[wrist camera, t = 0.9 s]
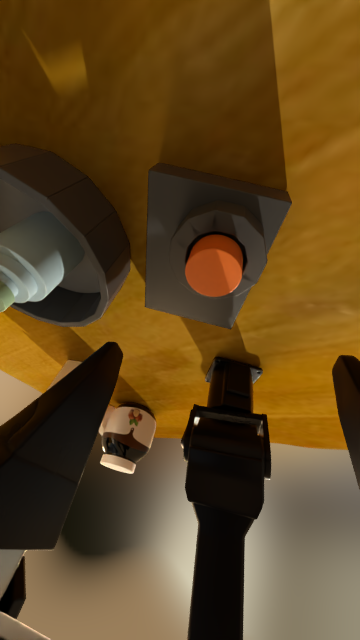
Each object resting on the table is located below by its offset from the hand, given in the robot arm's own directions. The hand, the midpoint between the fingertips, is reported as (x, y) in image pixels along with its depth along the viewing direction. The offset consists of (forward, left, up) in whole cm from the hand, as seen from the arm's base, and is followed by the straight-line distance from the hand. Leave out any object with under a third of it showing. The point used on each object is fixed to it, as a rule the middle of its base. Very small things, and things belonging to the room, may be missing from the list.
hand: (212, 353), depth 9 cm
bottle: (-4, +16, -12) cm, 20 cm away
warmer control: (-2, +2, -12) cm, 12 cm away
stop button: (0, +1, -8) cm, 8 cm away
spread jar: (-45, +10, -12) cm, 48 cm away
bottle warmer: (-4, +16, -12) cm, 20 cm away
